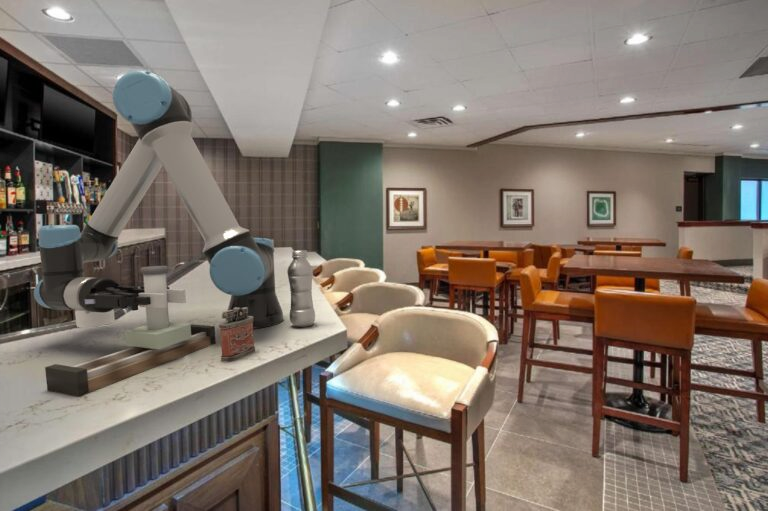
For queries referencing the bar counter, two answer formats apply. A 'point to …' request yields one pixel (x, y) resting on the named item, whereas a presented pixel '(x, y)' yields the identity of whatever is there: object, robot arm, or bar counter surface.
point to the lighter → (236, 334)
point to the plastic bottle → (301, 290)
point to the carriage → (157, 317)
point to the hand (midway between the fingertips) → (174, 298)
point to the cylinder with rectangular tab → (93, 318)
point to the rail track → (122, 364)
